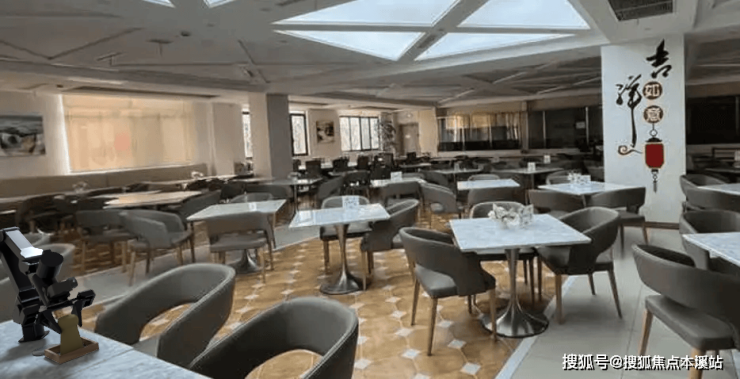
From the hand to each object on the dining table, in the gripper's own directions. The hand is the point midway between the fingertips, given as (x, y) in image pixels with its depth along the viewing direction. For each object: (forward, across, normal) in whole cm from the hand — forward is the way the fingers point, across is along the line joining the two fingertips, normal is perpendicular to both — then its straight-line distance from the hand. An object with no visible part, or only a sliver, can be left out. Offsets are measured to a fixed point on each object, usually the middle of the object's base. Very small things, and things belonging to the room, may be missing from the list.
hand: (71, 329), depth 134 cm
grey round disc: (-3, -3, +13) cm, 13 cm away
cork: (+4, 0, +6) cm, 7 cm away
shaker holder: (+4, 0, +6) cm, 7 cm away
